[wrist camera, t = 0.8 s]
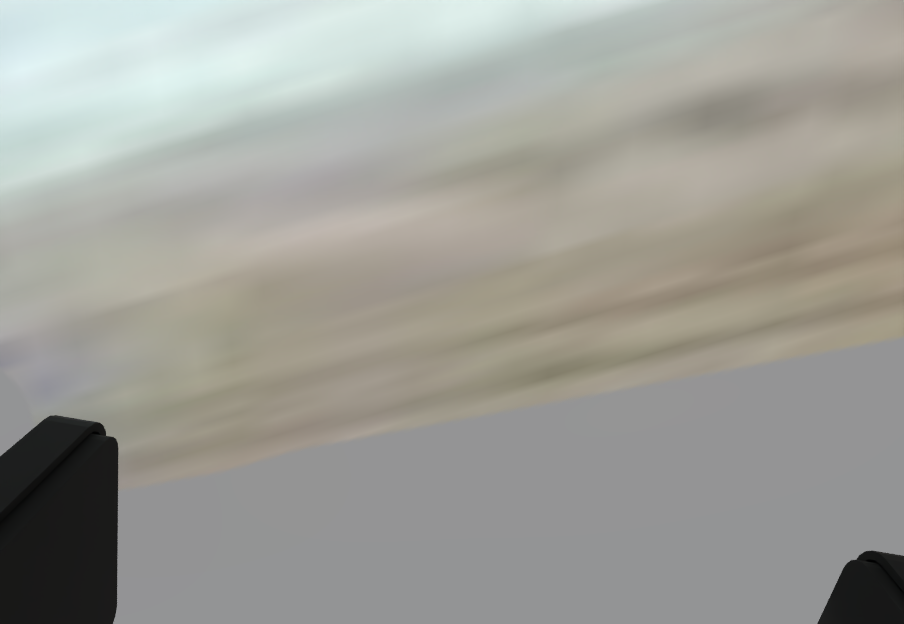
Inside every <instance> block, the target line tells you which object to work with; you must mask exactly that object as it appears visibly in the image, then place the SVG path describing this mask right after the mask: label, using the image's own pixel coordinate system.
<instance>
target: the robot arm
mask: <svg viewBox="0 0 904 624" xmlns="http://www.w3.org/2000/svg"><path fill="white" fill-rule="evenodd" d="M117 523H118V443H117V441H116V439H115V438H114V437H109V436H106V431H105V429H104V426H103V425H102V424H101V423H98V422H92V421H86V420H80V419H74V418H68V417H62V416H56V415H55V416H49V417H47V418H46V419H44V420H43V421H42V422H40V423H39V424H38V425H37V426H36V427H35V428H33V429H32V430H31V431H30V432H29V433H28V434H26V435H25V436H24V437H23V438H22V439H21V440H19V441H18V442H17V443H16V444H15V445H13V446H12V447H11V448H10V449H9V450H7V451H6V452H5V453H4V454H3V455H2V456H0V624H113V621H114V618H115V614H116V608H117V533H118V532H117V531H118V525H117ZM818 624H904V556H901V555H895V554H889V553H883V552H877V551H866V552H864V553H862V554H861V555H859V557H858V558H857V560H851V561H850V562H848V563H847V564H846V565H845V567H844V568H843V571H842V573H841V575H840V577H839V579H838V581H837V583H836V585H835V588H834V590H833V592H832V594H831V596H830V598H829V600H828V603H827V605H826V607H825V609H824V611H823V613H822V615H821V617H820V619H819V621H818Z"/></svg>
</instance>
